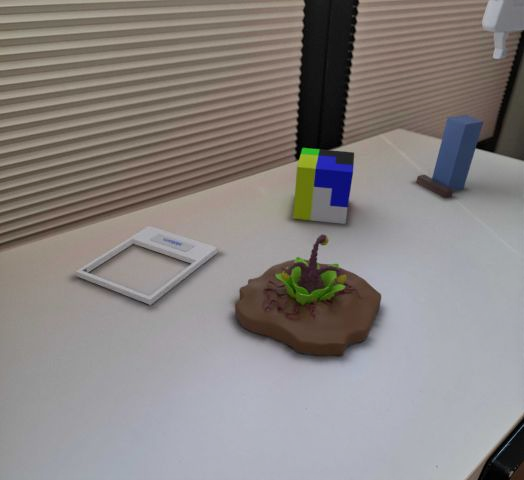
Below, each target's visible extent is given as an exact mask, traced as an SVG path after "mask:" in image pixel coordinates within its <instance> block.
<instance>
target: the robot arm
mask: <svg viewBox="0 0 524 480" xmlns="http://www.w3.org/2000/svg"><path fill="white" fill-rule="evenodd" d="M481 26H482V29H483V31H486V32H490V33H493V44H494V51H493V54H492V58H493V59H496V60H502V59H505V58H506V56H507V53H508V51H509V48H508V47H506V39H508V38H509V34H510V32H517V31H524V0H488V2H487V4H486V7H485V10H484V14H483V16H482V21H481Z"/></svg>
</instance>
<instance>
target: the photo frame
mask: <svg viewBox="0 0 524 480" xmlns="http://www.w3.org/2000/svg"><path fill="white" fill-rule="evenodd" d="M132 245H135V246H138V247H142V248H145V249H147V250H150V251H153V252H157V253H160V254H162V255H164V256H165V255H166V256H167V257H171V258H174V259H177V260H180V261H182V262H185V263H189V265H188V266H187V267H186V268H184V269H183V270H182V271H180V272H179V273H178V274H176V275H175V276H174V277H173V278H170V280H169V281H167V282H166V283H165V284H164V285H162V286H161V287H159V288H158V289H157V290H155V291H154V292H153V293H151V294H150V295H147V294H144V293H142V292H139V291H136V290H135V289H131V288H129V287H127V286H123V285H121V284H118V283H116V282H114V281H110V280H108V279H106V278H103V277H100V276H97V275H95V274H93V273H89V272H91V271H93V270H95V268H97V267H99V266H100V265H102V264H103V263H105V262H107V261H108V260H110V259H111V258H113V257H114V256H116V255H118V254H119V253H121V252H123V251H125V250H126V249H127V248H129V247H130V246H132ZM218 251H219V249H218V247H217V246H214V245H211V244H208V243H205V242H202V241H198V240H195V239H192V238H189V237H186V236H183V235H180V234H177V233H174V232H170V231H167V230H164V229H161V228H158V227H154V226H151V225H148V226H146V227H145V228H143V229H141V230H140V231H138V232H137V233H135V234H134V235H132V236H130V237H128V238H127V239H125V240H124V241H122V242H120V243H119V244H117V245H115V246H114V247H113V248H111V249H109V250H108V251H106V252H104V253H102V254H101V255H99V256H98V257H96V258H95V259H93V260H91V261H90V262H88V263H87V264H85V265H83V266H81V267H80V268H79V269H77V270H75V275H76V277H77V278H80V279H83V280H85V281H87V282H90V283H93V284H96V285H99V286H101V287H103V288H105V289H109V290H110V291H114V292H116V293H118V294H122V295H123V296H125V297H126V296H127V297H129V298H131V299H134V300H137V301H139V302H142V303H144V304H147V305H149V306H151V305H153V304H154V303H155V302H157V301H158V300H159V299H161V298H162V297H163V296H164V295H166V294H167V293H168V292H169V291H171V290H172V289H173V288H174V287H176V286H177V285H178V284H179V283H181V282H182V281H184V279H186V278H187V277H188V276H190V275H191V274H192V273H194V272H195V271H196V270H197V269H199V268H200V267H201V266H203V265H204V264H205V263H206V262H207V261H209V260H210V259H211V258H213V257H214V256H215V255H217V253H218Z"/></svg>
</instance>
